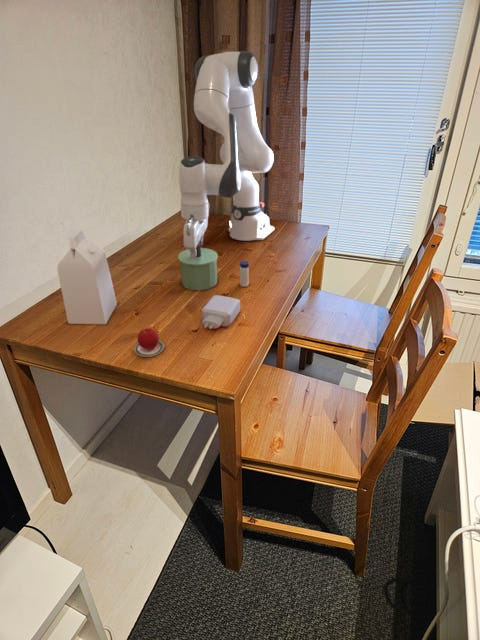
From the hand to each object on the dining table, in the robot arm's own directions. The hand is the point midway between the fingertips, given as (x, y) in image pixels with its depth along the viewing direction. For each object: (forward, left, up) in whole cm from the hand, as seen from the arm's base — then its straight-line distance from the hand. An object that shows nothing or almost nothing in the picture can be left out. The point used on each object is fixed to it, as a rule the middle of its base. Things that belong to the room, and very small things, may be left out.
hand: (197, 251), depth 140 cm
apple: (+38, +16, -12) cm, 43 cm away
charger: (+16, +22, -12) cm, 30 cm away
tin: (0, 0, -12) cm, 12 cm away
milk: (+36, -12, -12) cm, 40 cm away
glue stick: (-8, +14, -12) cm, 20 cm away
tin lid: (0, 0, -2) cm, 2 cm away
